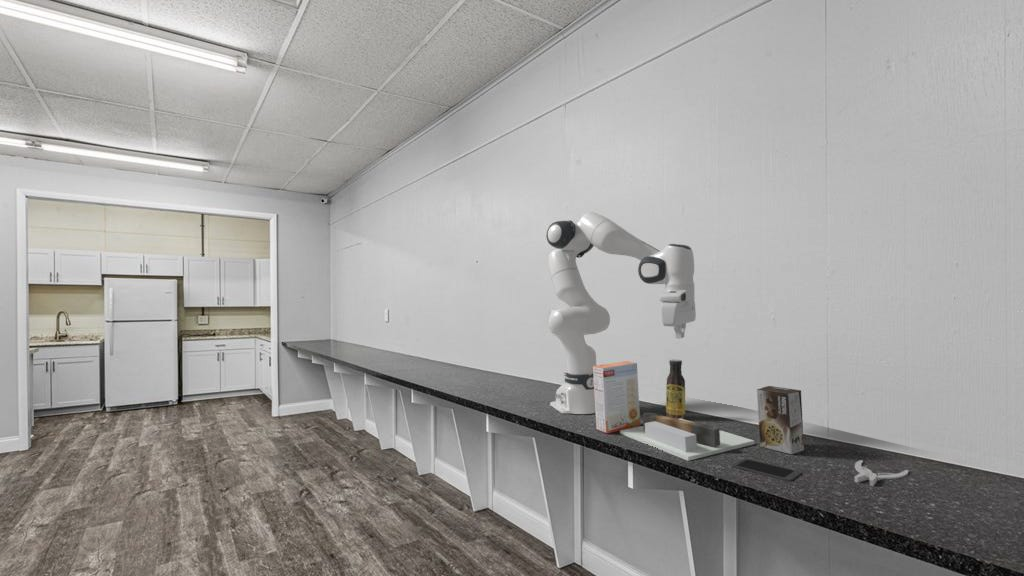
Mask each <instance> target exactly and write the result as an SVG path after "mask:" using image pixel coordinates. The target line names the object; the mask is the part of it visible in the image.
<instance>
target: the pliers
mask: <svg viewBox="0 0 1024 576" xmlns="http://www.w3.org/2000/svg"><path fill="white" fill-rule="evenodd" d="M863 463H864V460H862V459H861V460H858V461H856V462H855V463H854V469H855V470H856V471H857V472H858V473H857V475H854V482H855V483H862V482H864V481H869V486H871V487H874V486H875V485H876V484H877V482H878V481H880V480H894V479H900V478H904V477H906V476H907V475H909V470H908V469H905V470H903V471H901V472H898V473H893V472H891V473H890V472H877V473H875V472H873V471H872V470H871V469H869V468H867V467H865V466H862V465H863Z"/></svg>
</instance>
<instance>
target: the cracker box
mask: <svg viewBox="0 0 1024 576" xmlns="http://www.w3.org/2000/svg"><path fill="white" fill-rule="evenodd" d="M593 379H594V396H595V413H594V414H595V425H596V426H595V428H596V431H599V432H602V433H605V434H612V433H617V432H620V430H625V429H630V428H635V427H640V426H641V414H640V395H639V377H638V363H637V362H633V361H619V362H612V363H611V362H610V363H605V364H599V365H598V364H596V366H593Z"/></svg>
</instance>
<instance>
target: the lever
mask: <svg viewBox="0 0 1024 576" xmlns="http://www.w3.org/2000/svg"><path fill="white" fill-rule="evenodd" d="M642 416H643V417H642V419H643V420H642V421H643V422H642V423H643V426H644V430H645V423H648V422H653V421H656V422H659V423H662V424H665V425H668V426H671V427H675V428H678V429H681V430H684V431H687V432H690V433H693V434H696V441H697V442H699V443H702V444H706V445H710V446H714V447H716V446H718V445H720V427H715V426H711V425H706V424H702V423H697V422H694V421H691V422H689V421H690V420H688V421H684V420H685V419H684V420H680V419H675V418H670V417H667V415H665V416H664V415H662V414H661V415H660V414H659V415H658V413H656V412H643V413H642ZM693 422H694V423H693Z"/></svg>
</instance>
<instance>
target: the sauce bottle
mask: <svg viewBox="0 0 1024 576" xmlns="http://www.w3.org/2000/svg"><path fill="white" fill-rule="evenodd" d="M682 361H683V360H682V359H669V374H668V376H667V378H666V385H665V396H666V397H665V401H666V402H665V412H666V417H670V418H675V419H680V418H681V419H685V418H686V380H685V378H684V376H683V373H682V364H683V362H682Z"/></svg>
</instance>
